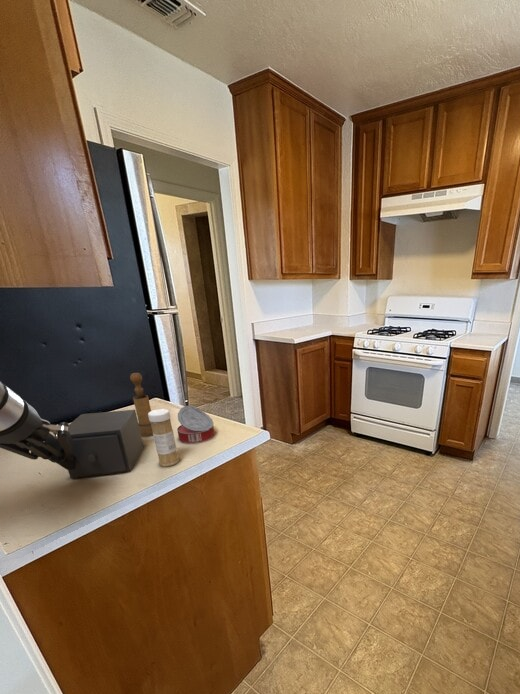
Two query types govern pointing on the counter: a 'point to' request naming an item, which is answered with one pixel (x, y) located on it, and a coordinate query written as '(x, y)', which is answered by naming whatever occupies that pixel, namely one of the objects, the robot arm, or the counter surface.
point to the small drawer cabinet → (112, 432)
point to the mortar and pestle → (141, 406)
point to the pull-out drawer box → (97, 455)
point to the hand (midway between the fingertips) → (72, 463)
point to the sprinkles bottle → (163, 437)
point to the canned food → (194, 425)
